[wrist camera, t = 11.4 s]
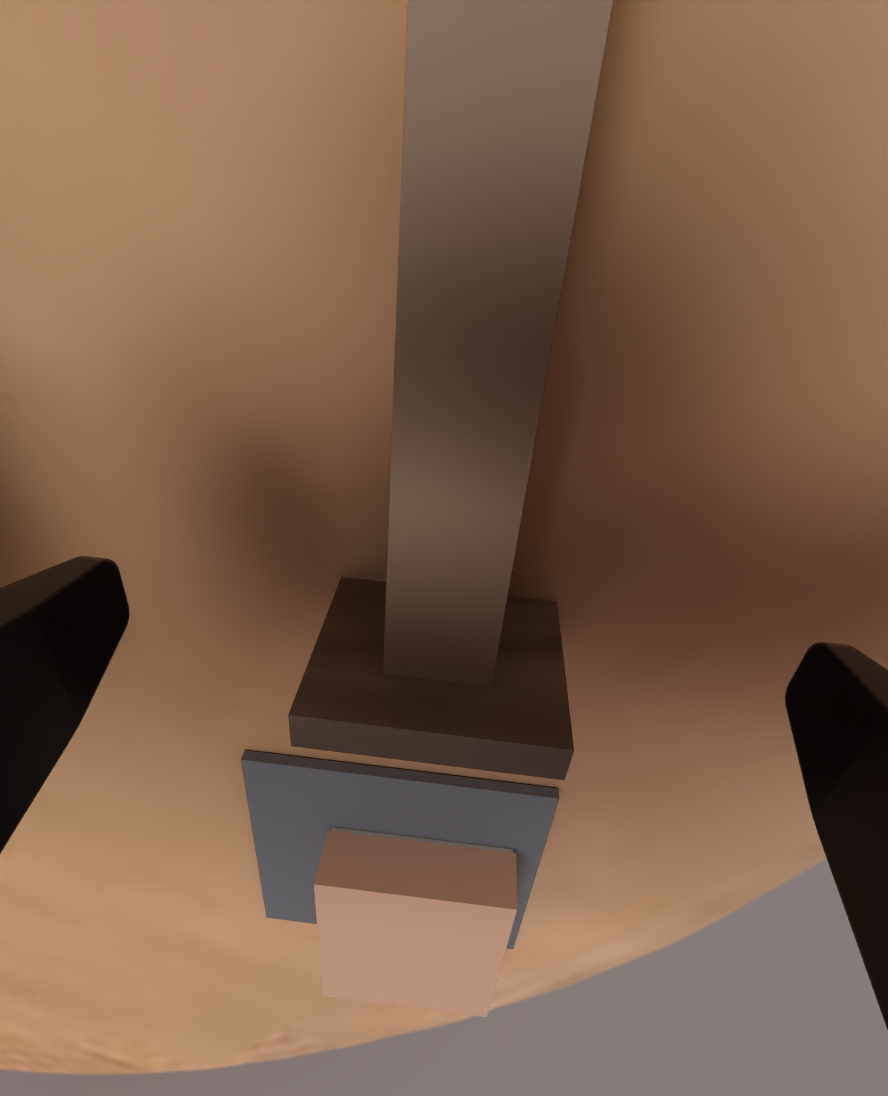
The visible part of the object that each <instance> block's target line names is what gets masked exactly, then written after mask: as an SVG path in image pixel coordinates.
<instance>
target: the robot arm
mask: <svg viewBox="0 0 888 1096" xmlns="http://www.w3.org/2000/svg"><path fill="white" fill-rule="evenodd" d="M128 620H129V605H128V602H127V598H126V594H125V590H124V587H123V583H122V579H121V575H120V572H119V569H118V566H117V565H116V563H115V562H114V561H112V560H110V559H106V558H98V557H89V556H79V557H76V558H73V559H71V560H68V561H66V562H63V563H61V564H58V565H56V566H53V567H51V568H48V569H46V570H43V571H41V572H39V573H36V574H34V575H31V576H29V577H26V578H24V579H21V580H19V581H16V582H14V583H11V584H9V585H6V586H4V587H1V588H0V853H1V852H2V850H3V849H4V847H5V845H6V844H7V842H8V841H9V839H10V837H11V836H12V834H13V832H14V831H15V829H16V828H17V826H18V824H19V823H20V821H21V819H22V818H23V816H24V815H25V813H26V811H27V810H28V808H29V806H30V805H31V803H32V802H33V800H34V798H35V797H36V795H37V793H38V792H39V790H40V789H41V787H42V785H43V784H44V782H45V780H46V779H47V777H48V776H49V774H50V772H51V771H52V769H53V767H54V766H55V764H56V763H57V761H58V759H59V758H60V756H61V754H62V753H63V751H64V750H65V748H66V746H67V745H68V743H69V741H70V740H71V738H72V736H73V735H74V733H75V731H76V729H77V728H78V726H79V724H80V722H81V720H82V718H83V716H84V714H85V713H86V711H87V709H88V707H89V704H90V702H91V700H92V698H93V696H94V694H95V692H96V690H97V688H98V686H99V684H100V681H101V679H102V677H103V675H104V673H105V671H106V669H107V667H108V665H109V663H110V660H111V658H112V656H113V654H114V652H115V650H116V648H117V646H118V644H119V642H120V639H121V637H122V635H123V633H124V631H125V629H126V627H127V624H128ZM785 703H786V709H787V713H788V717H789V722H790V726H791V730H792V734H793V738H794V743H795V747H796V751H797V755H798V760H799V764H800V768H801V772H802V776H803V781H804V785H805V789H806V793H807V798H808V801H809V805H810V809H811V812H812V816H813V819H814V822H815V825H816V828H817V831H818V835H819V838H820V840H821V843H822V846H823V849H824V852H825V855H826V857H827V860H828V863H829V865H830V869H831V871H832V874H833V877H834V880H835V883H836V886H837V888H838V891H839V894H840V897H841V900H842V903H843V905H844V908H845V911H846V914H847V916H848V920H849V922H850V925H851V928H852V931H853V933H854V936H855V939H856V942H857V945H858V948H859V951H860V953H861V956H862V959H863V962H864V965H865V968H866V970H867V973H868V976H869V979H870V982H871V985H872V987H873V990H874V993H875V996H876V998H877V1001H878V1004H879V1007H880V1010H881V1013H882V1016H883V1018H884V1021H885V1024H886V1026H887V1030H888V670H887V669H885V668H884V667H882V666H881V665H879V664H878V663H876V662H875V661H873V660H872V659H870V658H869V657H867V656H866V655H864V654H863V653H862V652H860V651H859V650H857V649H856V648H854V647H852V646H849V645H844V644H835V643H826V642H818V643H815V644H813V645H812V646H810V647H809V649H808V650H807V652H806V654H805V656H804V657H803V659H802V661H801V663H800V665H799V666H798V668H797V670H796V672H795V674H794V675H793V677H792V679H791V681H790V683H789V684H788V687H787V690H786V695H785Z"/></svg>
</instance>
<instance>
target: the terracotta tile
mask: <svg viewBox="0 0 888 1096" xmlns="http://www.w3.org/2000/svg"><path fill="white" fill-rule="evenodd" d="M314 892H315V905H316V917H317V930H318V943H319V956H320V968H321V981H322V994H323V996H329V997H336V998H344V999H352V1000H360V1001H367V1002H375V1003H383V1004H390V1005H398V1006H406V1007H414V1008H421V1009H429V1010H437V1011H444V1012H452V1013H460V1014H467V1015H475V1016H483V1017H487V1014H488V1011H489V1007H490V1003H491V1000H492V996H493V993H494V989H495V986H496V982H497V979H498V975H499V972H500V968H501V965H502V961H503V958H504V954H505V951H506V947H507V944H508V940H509V937H510V933H511V930H512V926H513V922H514V919H515V915H516V912H517V875H516V853H513V849H507V848H499V847H491V846H483V845H475V844H467V843H458V842H450V841H442V840H434V839H426V838H418V837H409V836H401V835H393V834H385V833H377V832H369V831H360V830H352V829H344V828H336V827H332V829H331V830H328V832H327V836H326V839H325V843H324V847H323V851H322V855H321V859H320V863H319V867H318V870H317V874H316V878H315V882H314Z"/></svg>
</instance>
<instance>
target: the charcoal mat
mask: <svg viewBox="0 0 888 1096" xmlns="http://www.w3.org/2000/svg"><path fill="white" fill-rule="evenodd" d="M241 763H242V769H243V775H244V781H245V788H246V794H247V800H248V806H249V812H250V818H251V825H252V831H253V837H254V843H255V849H256V855H257V862H258V868H259V874H260V880H261V886H262V892H263V899H264V905H265V911H266V917H267V918H274V919H282V920H290V921H297V922H305V923H313V924H317V917H316V905H315V892H314V882H315V878H316V874H317V870H318V867H319V863H320V859H321V855H322V851H323V847H324V843H325V839H326V836H327V832H328V830H331V829H332V827H336V828H344V829H352V830H360V831H369V832H377V833H385V834H393V835H401V836H409V837H418V838H426V839H434V840H442V841H450V842H458V843H467V844H475V845H483V846H491V847H499V848H507V849H513V853H516V875H517V912H516V915H515V919H514V922H513V926H512V930H511V933H510V937H509V940H508V944H507V947H506V948H507V949H513V947H514V944H515V941H516V938H517V934H518V931H519V928H520V925H521V921H522V918H523V915H524V912H525V908H526V905H527V902H528V898H529V895H530V892H531V889H532V885H533V882H534V879H535V876H536V872H537V869H538V866H539V863H540V859H541V856H542V853H543V849H544V846H545V843H546V840H547V836H548V833H549V830H550V827H551V823H552V820H553V817H554V814H555V810H556V807H557V804H558V800H559V792H558V788H550V787H542V786H534V785H526V784H517V783H509V782H501V781H493V780H485V779H476V778H468V777H460V776H452V775H444V774H435V773H427V772H419V771H411V770H403V769H394V768H386V767H378V766H370V765H362V764H353V763H345V762H337V761H329V760H321V759H313V758H304V757H296V756H288V755H280V754H272V753H263V752H255V751H247V750H245V752H244V754H243V756H242V759H241Z"/></svg>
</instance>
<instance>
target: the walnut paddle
mask: <svg viewBox="0 0 888 1096" xmlns="http://www.w3.org/2000/svg"><path fill="white" fill-rule="evenodd" d="M612 4H613V0H408V20H407V47H406V74H405V100H404V127H403V154H402V180H401V207H400V234H399V260H398V287H397V313H396V340H395V367H394V393H393V420H392V447H391V473H390V500H389V527H388V553H387V580H386V582H379V581H371V580H362V579H354V578H345V577H341V579H340V582H339V584H338V587H337V589H336V592H335V595H334V597H333V600H332V603H331V605H330V608H329V610H328V613H327V616H326V618H325V621H324V623H323V626H322V629H321V631H320V634H319V636H318V639H317V642H316V644H315V647H314V649H313V652H312V655H311V657H310V660H309V663H308V665H307V668H306V670H305V673H304V676H303V678H302V681H301V683H300V686H299V689H298V691H297V694H296V696H295V699H294V702H293V704H292V707H291V710H290V712H289V715H288V716H289V728H290V740H291V746H295V747H303V748H311V749H319V750H327V751H335V752H343V753H351V754H359V755H367V756H375V757H383V758H391V759H399V760H407V761H415V762H423V763H431V764H439V765H447V766H455V767H463V768H471V769H479V770H487V771H495V772H503V773H511V774H519V775H527V776H535V777H543V778H551V779H559V780H565V777H566V774H567V771H568V768H569V765H570V761H571V758H572V755H573V752H574V747H573V738H572V729H571V720H570V712H569V703H568V694H567V685H566V676H565V667H564V659H563V650H562V641H561V632H560V623H559V614H558V606H557V602H552V601H543V600H535V599H526V598H517V597H509V596H508V590H509V585H510V579H511V573H512V568H513V562H514V556H515V551H516V545H517V539H518V534H519V528H520V523H521V517H522V511H523V506H524V500H525V494H526V489H527V483H528V477H529V472H530V466H531V461H532V455H533V449H534V444H535V438H536V432H537V427H538V421H539V415H540V410H541V404H542V399H543V393H544V387H545V382H546V376H547V370H548V365H549V359H550V354H551V348H552V342H553V337H554V331H555V325H556V320H557V314H558V308H559V303H560V297H561V292H562V286H563V280H564V275H565V269H566V263H567V258H568V252H569V246H570V241H571V235H572V230H573V224H574V218H575V213H576V207H577V201H578V196H579V190H580V185H581V179H582V173H583V168H584V162H585V156H586V151H587V145H588V139H589V134H590V128H591V123H592V117H593V111H594V106H595V100H596V94H597V89H598V83H599V77H600V72H601V66H602V61H603V55H604V49H605V44H606V38H607V32H608V27H609V21H610V16H611V10H612Z"/></svg>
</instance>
